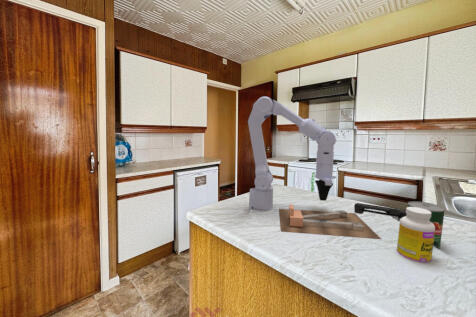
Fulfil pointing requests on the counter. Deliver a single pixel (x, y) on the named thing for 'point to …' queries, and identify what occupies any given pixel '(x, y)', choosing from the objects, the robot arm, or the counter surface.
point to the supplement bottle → (416, 235)
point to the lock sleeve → (295, 217)
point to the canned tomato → (433, 218)
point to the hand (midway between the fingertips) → (322, 199)
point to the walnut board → (327, 231)
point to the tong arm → (326, 215)
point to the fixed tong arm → (334, 224)
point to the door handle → (392, 212)
